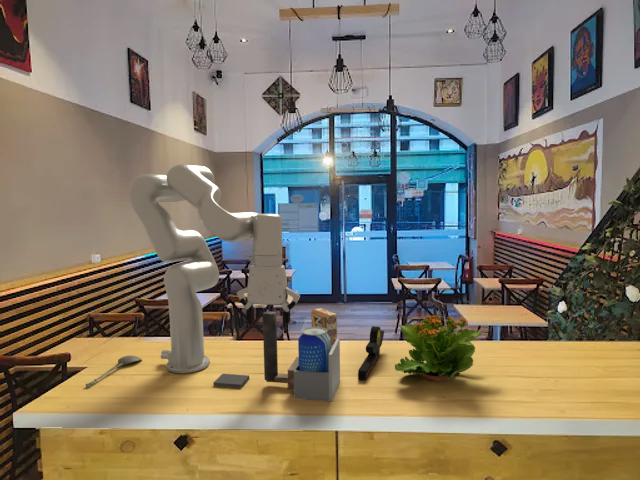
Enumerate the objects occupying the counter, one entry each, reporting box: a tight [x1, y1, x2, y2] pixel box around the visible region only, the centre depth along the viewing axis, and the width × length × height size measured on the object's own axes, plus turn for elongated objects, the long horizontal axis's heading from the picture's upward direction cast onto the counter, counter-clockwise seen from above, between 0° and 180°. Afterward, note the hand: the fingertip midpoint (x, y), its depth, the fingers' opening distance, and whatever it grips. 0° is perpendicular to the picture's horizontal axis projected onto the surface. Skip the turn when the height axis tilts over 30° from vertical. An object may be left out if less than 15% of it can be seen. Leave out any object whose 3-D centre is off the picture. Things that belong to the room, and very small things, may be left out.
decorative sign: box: [357, 325, 385, 381], centre depth 131 cm, size 27×2×10 cm, turn 161°
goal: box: [293, 338, 341, 402], centre depth 114 cm, size 10×12×12 cm
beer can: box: [297, 326, 331, 373], centre depth 113 cm, size 8×8×16 cm
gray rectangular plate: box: [212, 373, 250, 389], centre depth 119 cm, size 8×6×1 cm
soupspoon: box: [85, 354, 143, 389], centre depth 128 cm, size 22×3×7 cm
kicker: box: [262, 311, 299, 391], centre depth 115 cm, size 10×9×19 cm
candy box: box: [310, 307, 338, 349], centre depth 134 cm, size 9×4×15 cm, turn 33°
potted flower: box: [394, 314, 482, 382], centre depth 122 cm, size 25×24×18 cm
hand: (268, 323), depth 115 cm, fingers open, 9 cm apart
